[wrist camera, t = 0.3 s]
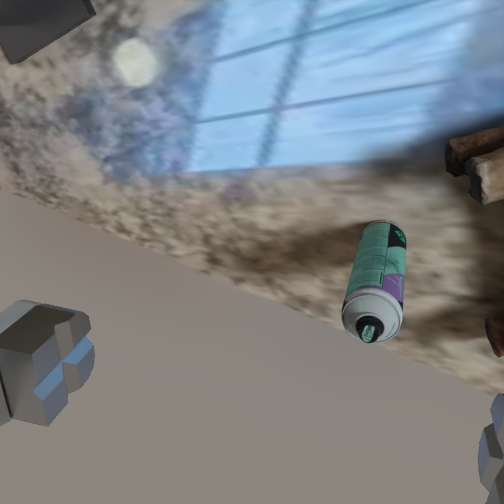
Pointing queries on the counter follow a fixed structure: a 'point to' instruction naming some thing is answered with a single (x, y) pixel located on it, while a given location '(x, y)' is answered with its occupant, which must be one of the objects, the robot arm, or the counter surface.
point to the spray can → (376, 284)
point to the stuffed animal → (482, 188)
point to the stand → (38, 24)
